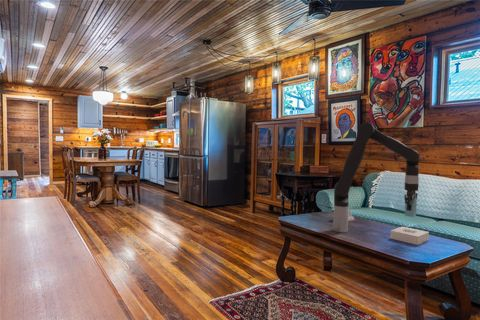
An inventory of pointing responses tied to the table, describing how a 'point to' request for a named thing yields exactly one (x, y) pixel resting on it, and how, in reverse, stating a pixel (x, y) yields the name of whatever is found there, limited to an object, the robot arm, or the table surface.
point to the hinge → (350, 216)
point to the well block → (409, 235)
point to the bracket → (413, 209)
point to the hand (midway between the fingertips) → (410, 209)
